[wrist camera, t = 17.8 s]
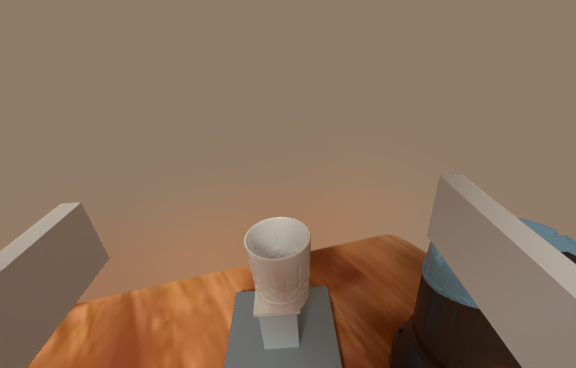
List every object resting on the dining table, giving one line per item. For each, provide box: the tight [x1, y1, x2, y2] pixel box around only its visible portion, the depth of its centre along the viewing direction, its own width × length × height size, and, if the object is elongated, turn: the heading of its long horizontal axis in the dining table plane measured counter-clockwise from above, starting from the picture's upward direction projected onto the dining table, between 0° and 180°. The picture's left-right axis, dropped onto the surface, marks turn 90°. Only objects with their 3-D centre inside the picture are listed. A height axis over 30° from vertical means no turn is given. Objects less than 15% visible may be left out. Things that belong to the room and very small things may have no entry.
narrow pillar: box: [224, 286, 342, 368], centre depth 41 cm, size 16×16×10 cm
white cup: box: [244, 217, 311, 315], centre depth 36 cm, size 8×8×10 cm
